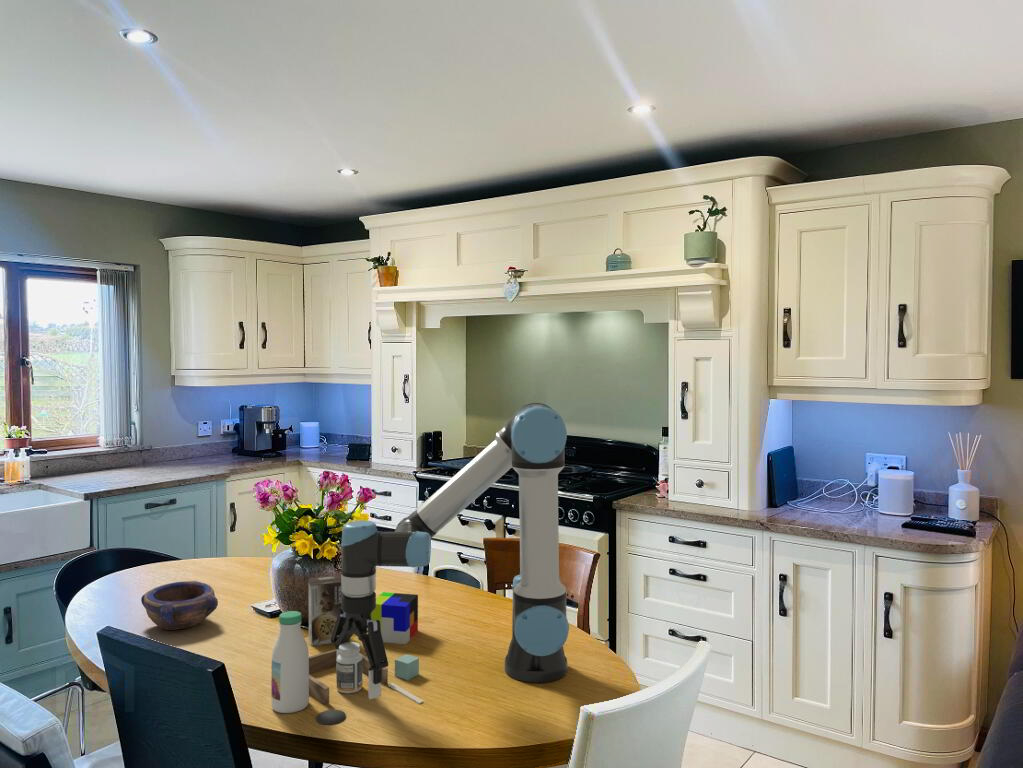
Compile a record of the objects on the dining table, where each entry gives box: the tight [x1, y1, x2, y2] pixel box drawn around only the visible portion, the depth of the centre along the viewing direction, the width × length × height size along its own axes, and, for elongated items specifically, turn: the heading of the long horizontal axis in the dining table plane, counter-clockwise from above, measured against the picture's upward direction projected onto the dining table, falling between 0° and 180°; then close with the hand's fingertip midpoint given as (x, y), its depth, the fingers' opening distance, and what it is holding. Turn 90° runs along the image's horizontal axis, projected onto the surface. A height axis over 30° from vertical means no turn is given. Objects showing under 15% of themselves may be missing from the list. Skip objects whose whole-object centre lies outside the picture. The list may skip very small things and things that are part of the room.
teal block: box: [394, 653, 420, 681], centre depth 181 cm, size 4×4×4 cm
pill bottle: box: [335, 641, 363, 694], centre depth 173 cm, size 6×6×10 cm
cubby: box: [309, 648, 389, 706], centre depth 177 cm, size 18×16×4 cm
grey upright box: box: [307, 574, 343, 647], centre depth 202 cm, size 9×6×16 cm
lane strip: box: [387, 682, 424, 705], centre depth 171 cm, size 12×1×1 cm, turn 43°
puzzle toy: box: [371, 591, 419, 645], centre depth 205 cm, size 10×10×10 cm
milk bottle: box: [270, 610, 310, 714], centre depth 164 cm, size 8×8×20 cm
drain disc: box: [315, 709, 347, 725], centre depth 159 cm, size 6×6×1 cm
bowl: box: [140, 580, 219, 631], centre depth 211 cm, size 18×18×10 cm
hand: (358, 686), depth 170 cm, fingers open, 13 cm apart
